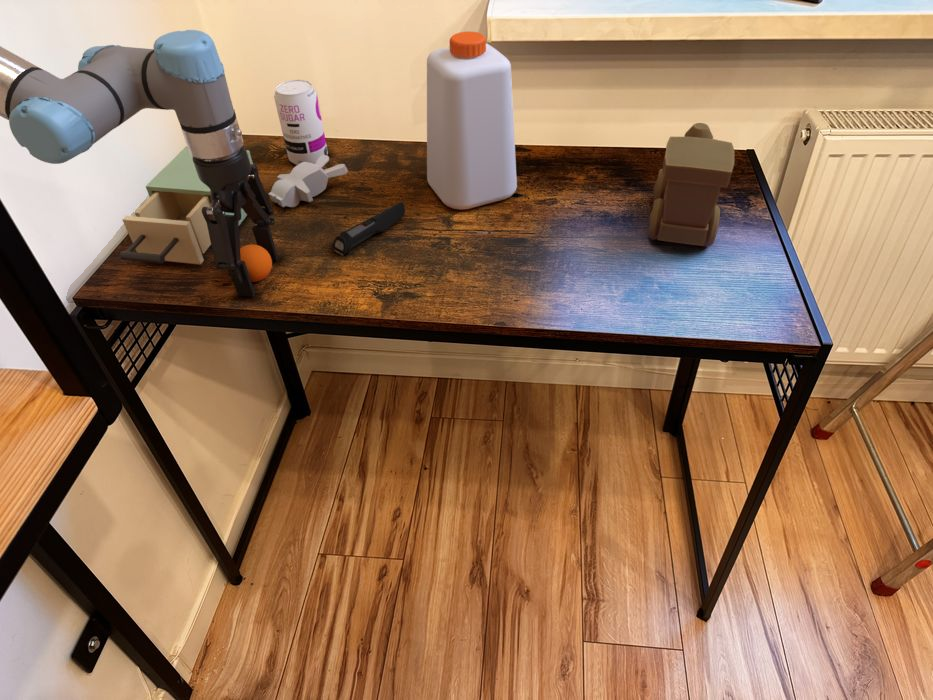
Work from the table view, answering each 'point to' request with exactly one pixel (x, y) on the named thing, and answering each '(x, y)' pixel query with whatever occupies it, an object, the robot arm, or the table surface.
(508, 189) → the plastic bottle
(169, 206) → the drawer
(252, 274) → the ball
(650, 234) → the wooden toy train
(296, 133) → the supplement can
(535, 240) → the table surface
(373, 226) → the electric trimmer
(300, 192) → the bunny figurine
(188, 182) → the cabinet
